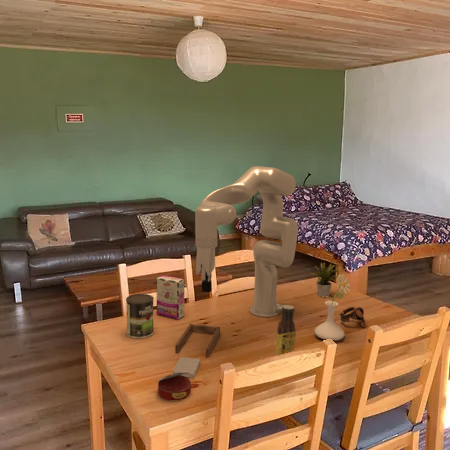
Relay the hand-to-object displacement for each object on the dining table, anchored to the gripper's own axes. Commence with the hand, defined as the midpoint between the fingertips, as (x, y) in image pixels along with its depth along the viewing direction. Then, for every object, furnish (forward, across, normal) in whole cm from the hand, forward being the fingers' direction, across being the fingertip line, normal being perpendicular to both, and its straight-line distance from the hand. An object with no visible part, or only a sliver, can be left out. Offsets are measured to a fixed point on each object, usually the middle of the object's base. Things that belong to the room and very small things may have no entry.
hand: (206, 291), depth 171 cm
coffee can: (+21, -4, -27) cm, 35 cm away
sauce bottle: (+21, +6, +29) cm, 36 cm away
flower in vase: (+22, -18, +45) cm, 53 cm away
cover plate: (+21, +19, -2) cm, 28 cm away
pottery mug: (+23, -33, +54) cm, 68 cm away
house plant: (+24, -62, +42) cm, 79 cm away
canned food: (+20, +32, -2) cm, 38 cm away
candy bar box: (+22, -23, -21) cm, 38 cm away
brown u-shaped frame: (+21, -1, -3) cm, 21 cm away
